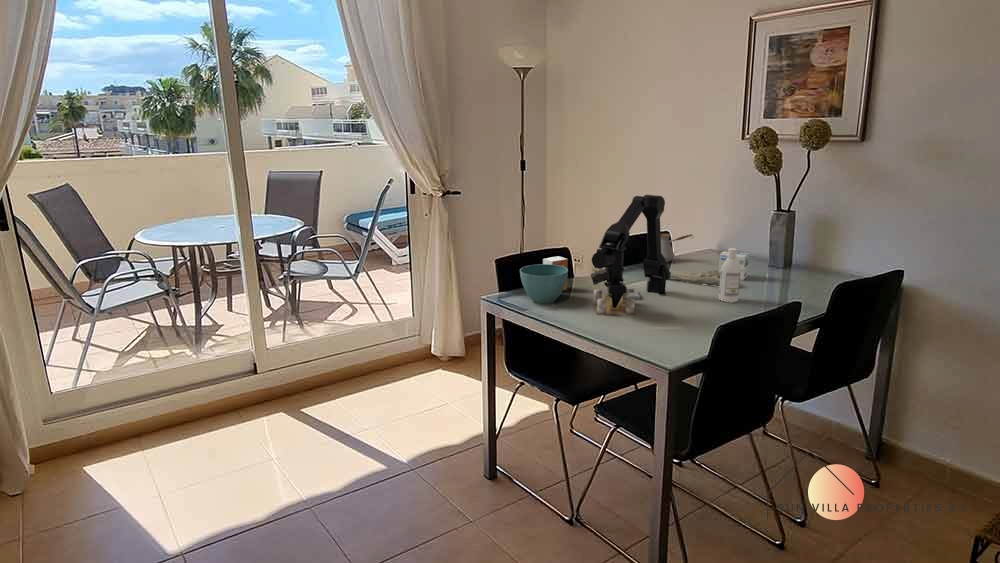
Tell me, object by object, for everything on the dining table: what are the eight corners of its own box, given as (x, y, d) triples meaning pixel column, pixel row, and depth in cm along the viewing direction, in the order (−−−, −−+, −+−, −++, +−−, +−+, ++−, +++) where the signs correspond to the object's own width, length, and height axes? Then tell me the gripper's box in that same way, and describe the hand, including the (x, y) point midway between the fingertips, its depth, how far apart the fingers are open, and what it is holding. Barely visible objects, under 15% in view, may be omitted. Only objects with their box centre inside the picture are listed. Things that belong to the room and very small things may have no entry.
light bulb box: (747, 277, 267) (749, 253, 264) (743, 281, 262) (746, 256, 259) (721, 274, 273) (723, 250, 270) (717, 278, 267) (719, 253, 264)
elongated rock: (659, 276, 277) (650, 282, 269) (658, 265, 275) (650, 271, 267) (740, 283, 257) (734, 290, 249) (740, 271, 255) (734, 277, 248)
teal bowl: (533, 310, 227) (533, 277, 224) (512, 297, 243) (512, 267, 240) (576, 303, 234) (576, 272, 231) (553, 291, 250) (553, 262, 247)
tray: (635, 293, 246) (635, 288, 246) (640, 301, 236) (640, 296, 235) (607, 293, 247) (607, 288, 246) (610, 301, 236) (611, 296, 236)
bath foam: (742, 301, 234) (746, 249, 229) (728, 304, 231) (732, 251, 226) (728, 296, 240) (732, 246, 235) (714, 299, 237) (718, 248, 232)
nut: (621, 305, 228) (621, 292, 227) (623, 310, 223) (623, 296, 222) (603, 305, 229) (604, 292, 227) (605, 310, 223) (605, 296, 222)
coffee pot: (644, 260, 299) (646, 230, 295) (658, 257, 306) (660, 227, 302) (683, 268, 284) (686, 236, 280) (697, 264, 291) (699, 232, 287)
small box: (551, 293, 248) (552, 261, 245) (542, 289, 253) (542, 258, 250) (567, 289, 253) (568, 258, 249) (557, 286, 258) (558, 255, 254)
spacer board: (629, 303, 234) (629, 288, 232) (636, 317, 218) (637, 301, 217) (591, 303, 234) (592, 288, 233) (596, 317, 219) (596, 301, 217)
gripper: (589, 257, 231) (588, 297, 235) (595, 270, 213) (593, 313, 217) (619, 257, 230) (618, 297, 235) (627, 270, 212) (625, 313, 217)
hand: (613, 305), depth 226 cm, fingers closed on nut, 5 cm apart
